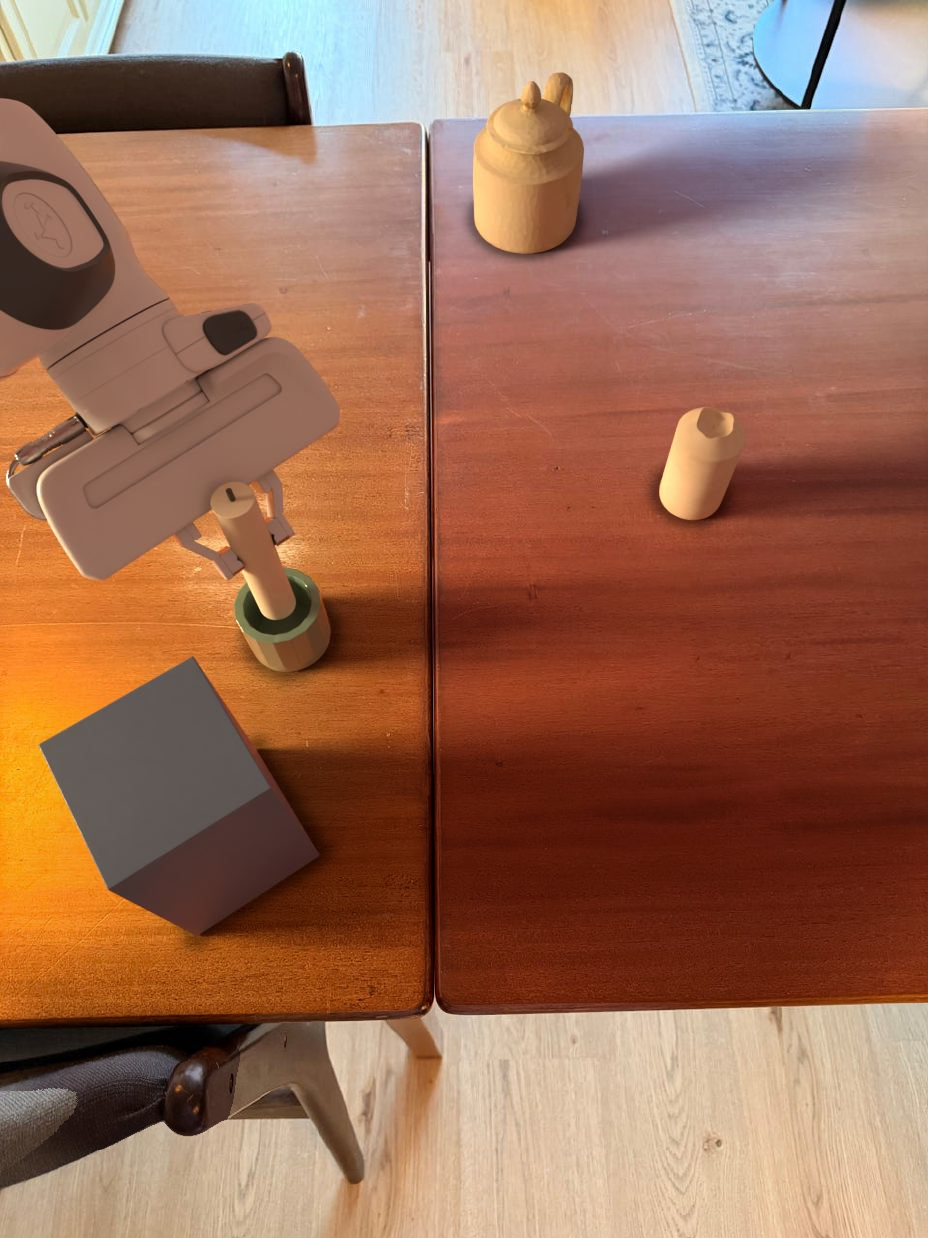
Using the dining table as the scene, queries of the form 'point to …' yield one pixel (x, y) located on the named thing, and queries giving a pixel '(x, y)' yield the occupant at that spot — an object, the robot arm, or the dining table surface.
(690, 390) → the dining table surface
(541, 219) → the sugar bowl
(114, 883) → the riser
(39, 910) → the dining table surface
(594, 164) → the dining table surface
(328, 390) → the robot arm
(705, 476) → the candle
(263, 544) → the taper
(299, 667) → the holder
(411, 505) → the dining table surface
